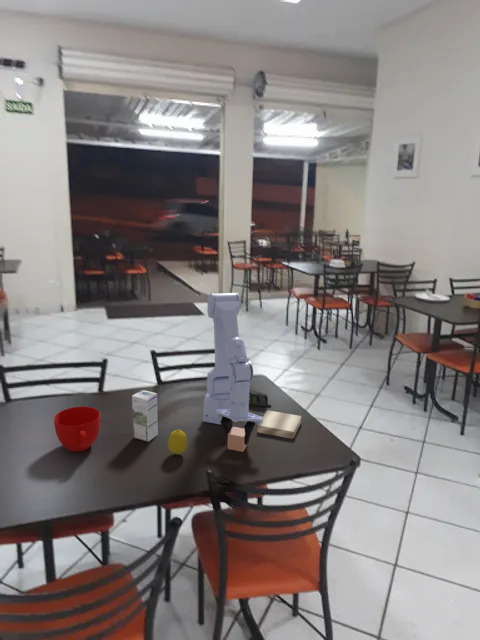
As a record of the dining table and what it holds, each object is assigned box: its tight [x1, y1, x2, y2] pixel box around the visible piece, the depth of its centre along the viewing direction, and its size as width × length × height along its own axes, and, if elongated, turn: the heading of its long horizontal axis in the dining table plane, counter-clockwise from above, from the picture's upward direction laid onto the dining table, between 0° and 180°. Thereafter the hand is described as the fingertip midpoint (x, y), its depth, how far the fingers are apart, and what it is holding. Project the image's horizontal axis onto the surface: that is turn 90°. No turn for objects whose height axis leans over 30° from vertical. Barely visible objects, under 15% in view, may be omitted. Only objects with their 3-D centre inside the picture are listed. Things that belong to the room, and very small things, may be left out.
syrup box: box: [131, 389, 159, 443], centre depth 148 cm, size 6×6×14 cm
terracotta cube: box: [226, 426, 249, 453], centre depth 145 cm, size 5×5×5 cm
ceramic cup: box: [53, 406, 101, 453], centre depth 140 cm, size 13×17×10 cm
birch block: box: [257, 409, 302, 440], centre depth 159 cm, size 12×12×3 cm
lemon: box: [167, 429, 188, 455], centre depth 139 cm, size 6×6×8 cm
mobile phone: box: [249, 389, 272, 408], centre depth 176 cm, size 5×3×15 cm
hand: (237, 441), depth 146 cm, fingers closed on terracotta cube, 5 cm apart
